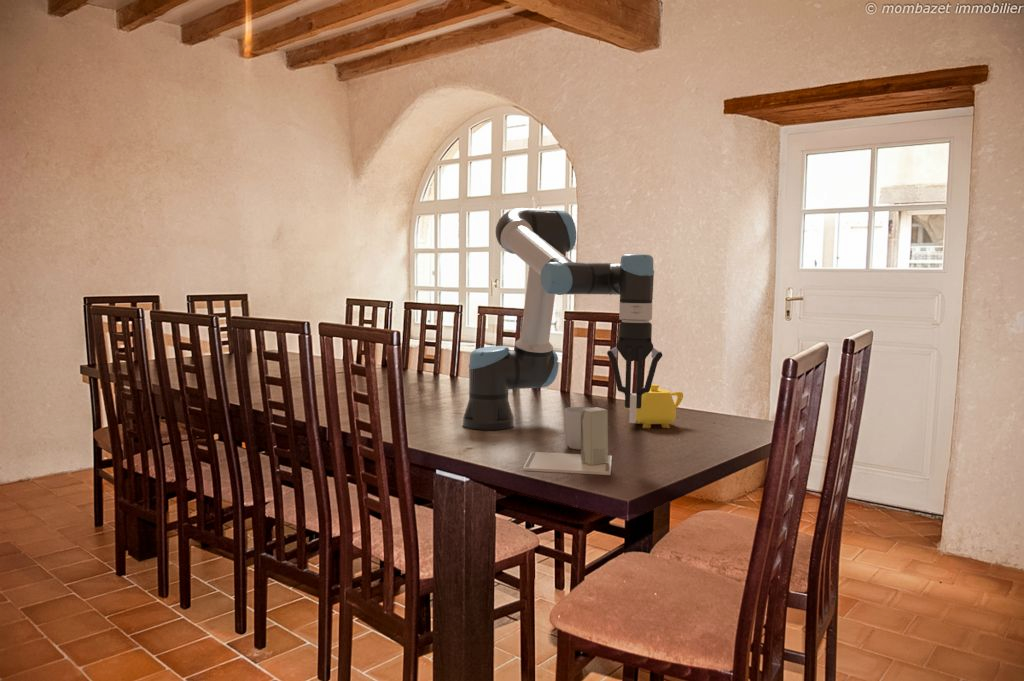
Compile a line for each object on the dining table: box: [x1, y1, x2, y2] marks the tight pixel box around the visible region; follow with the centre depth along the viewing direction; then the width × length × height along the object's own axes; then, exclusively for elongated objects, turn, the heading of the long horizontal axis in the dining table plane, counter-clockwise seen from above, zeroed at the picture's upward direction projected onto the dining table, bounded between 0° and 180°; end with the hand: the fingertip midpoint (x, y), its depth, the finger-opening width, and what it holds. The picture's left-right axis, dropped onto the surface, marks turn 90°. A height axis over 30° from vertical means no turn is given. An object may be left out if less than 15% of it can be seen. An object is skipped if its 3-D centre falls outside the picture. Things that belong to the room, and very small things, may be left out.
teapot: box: [627, 383, 684, 429], centre depth 225 cm, size 13×20×12 cm
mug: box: [563, 406, 592, 451], centre depth 196 cm, size 13×9×10 cm
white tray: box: [522, 451, 613, 476], centre depth 177 cm, size 16×20×1 cm
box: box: [580, 406, 609, 465], centre depth 176 cm, size 5×4×13 cm
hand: (632, 421), depth 174 cm, fingers closed
